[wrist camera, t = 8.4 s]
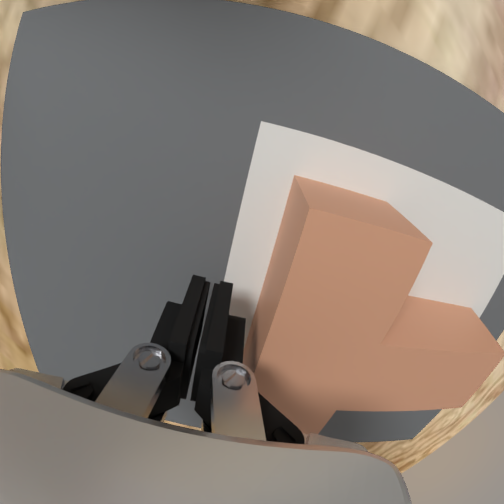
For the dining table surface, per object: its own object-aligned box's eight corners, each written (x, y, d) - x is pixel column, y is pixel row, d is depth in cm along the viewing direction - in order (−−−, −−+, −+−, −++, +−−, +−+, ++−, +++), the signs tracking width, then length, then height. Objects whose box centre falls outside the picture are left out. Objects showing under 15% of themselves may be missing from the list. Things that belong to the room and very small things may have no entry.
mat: (411, 435, 21) (412, 439, 20) (42, 373, 18) (40, 376, 18) (567, 173, 10) (571, 175, 10) (27, 13, 8) (23, 12, 8)
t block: (406, 399, 17) (422, 445, 14) (232, 384, 17) (227, 443, 13) (502, 245, 12) (547, 284, 9) (294, 174, 11) (309, 207, 8)
